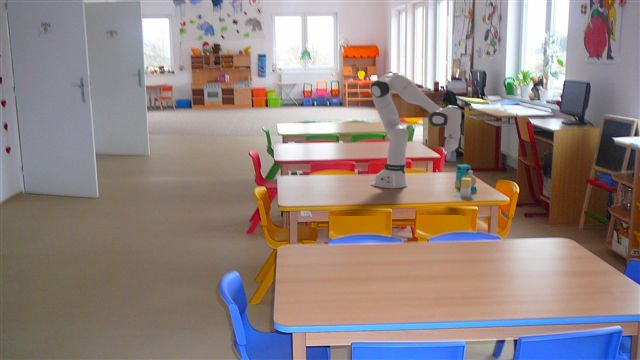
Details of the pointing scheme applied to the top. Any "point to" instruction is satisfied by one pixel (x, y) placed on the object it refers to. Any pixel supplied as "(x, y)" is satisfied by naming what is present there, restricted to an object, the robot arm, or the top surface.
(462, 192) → the white block
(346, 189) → the top surface
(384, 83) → the robot arm
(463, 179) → the mustard block
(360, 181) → the top surface
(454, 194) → the build plate
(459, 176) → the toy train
